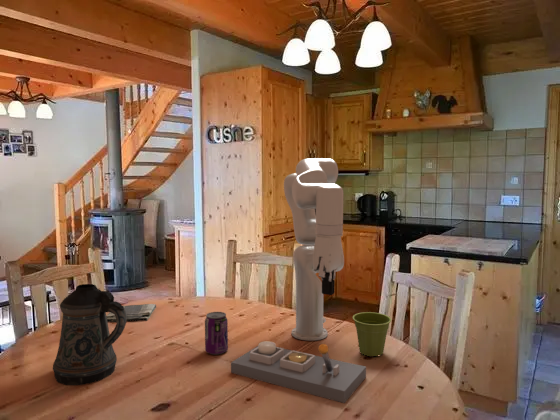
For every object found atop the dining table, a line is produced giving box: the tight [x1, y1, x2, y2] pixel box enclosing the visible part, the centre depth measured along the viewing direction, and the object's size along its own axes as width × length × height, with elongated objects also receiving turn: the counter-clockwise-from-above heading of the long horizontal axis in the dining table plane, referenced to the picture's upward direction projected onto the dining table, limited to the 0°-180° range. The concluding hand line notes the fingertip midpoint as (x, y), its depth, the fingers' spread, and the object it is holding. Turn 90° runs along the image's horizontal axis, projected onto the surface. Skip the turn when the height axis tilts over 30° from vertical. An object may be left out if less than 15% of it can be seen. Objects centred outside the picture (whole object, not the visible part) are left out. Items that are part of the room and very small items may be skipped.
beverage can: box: [204, 311, 229, 356], centre depth 138 cm, size 7×7×12 cm
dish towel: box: [106, 303, 157, 323], centre depth 177 cm, size 19×18×3 cm
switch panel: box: [230, 345, 367, 404], centre depth 122 cm, size 16×34×5 cm, turn 60°
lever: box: [317, 343, 333, 372], centre depth 114 cm, size 3×3×10 cm
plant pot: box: [352, 311, 392, 357], centre depth 137 cm, size 12×12×11 cm
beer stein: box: [52, 283, 127, 386], centre depth 123 cm, size 16×19×25 cm
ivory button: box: [257, 340, 277, 355], centre depth 126 cm, size 5×5×2 cm
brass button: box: [289, 351, 307, 364], centre depth 122 cm, size 5×5×2 cm
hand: (328, 293), depth 124 cm, fingers closed
